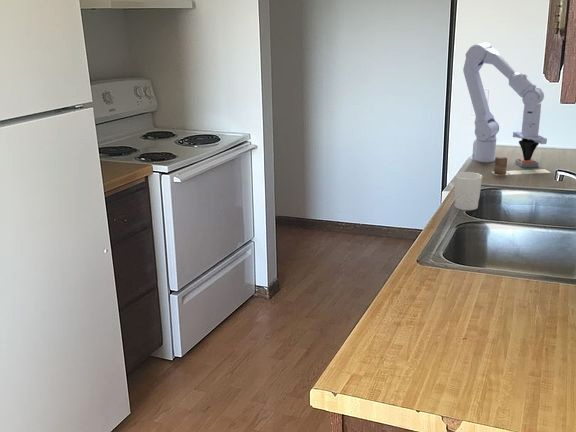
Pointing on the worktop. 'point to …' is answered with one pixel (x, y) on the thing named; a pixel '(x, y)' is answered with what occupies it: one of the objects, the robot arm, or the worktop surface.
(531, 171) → the board
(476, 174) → the white cup
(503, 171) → the brown wooden cylinder
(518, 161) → the button housing
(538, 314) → the worktop surface
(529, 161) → the button
